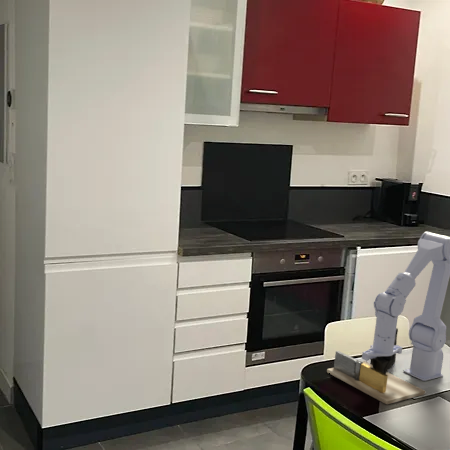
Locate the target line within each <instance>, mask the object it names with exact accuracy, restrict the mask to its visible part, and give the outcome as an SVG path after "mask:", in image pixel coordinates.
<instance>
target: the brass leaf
mask: <svg viewBox="0 0 450 450" xmlns="http://www.w3.org/2000/svg"><path fill="white" fill-rule="evenodd" d="M387 378H388V375H386V374H384V373H382V372H380V371H378V370H376V369H374V368H372V367H370V366H368V365H366V364H361V369H360V377H359V381H361V382H363V383H365V384H367V385H369V386H370V387H372V388H374V389H376V390H378V391H380V392H382V393H384V392H386V385H387Z"/></svg>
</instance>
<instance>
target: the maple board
mask: <svg viewBox="0 0 450 450" xmlns="http://www.w3.org/2000/svg"><path fill="white" fill-rule="evenodd" d="M362 362H363V364H366V365H368V366H370V367H372V368H373V365H371V364H370V362H368V361H366V360H363V361H362ZM326 372H327V374H329V373H330V375H332V377H333V376H334V377H335V378H337V379H339V380H341V381H343V382H345V383H346V384H348V385H350V386H352V387H353V388H356V389H357V390H359V391H361V392H363V393H364V394H366V395H369V396H370V397H372V398H374V399H376V400H377V401H380V402H381V403H383V404H385V405H390V404H394V403H397V402H401V401H404V400H405V401H406V400H407V399H412V398H415V397H419V396H423V395H426V390H424V389H422V388H420V387H418V386H416V385H415V384H413V383H410V382H408V381H406V380H404V379H402V378H401V377H398V376H397V375H396V376H395V375H394V374H392V373H390V372H388V371H387V372H386V375H388V378H387V385H386V392H384V393H382V392H380V391H378V390H376V389H374V388H372V387H370V386H369V385H367V384H365V383H363V382H361V381H357V380H355V379H354V378H352V377H350V376H348V375H346V374H344V373H342V372H340V371H338V370H336V369H334V367H331V368H327V369H326Z"/></svg>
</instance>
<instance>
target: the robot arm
mask: <svg viewBox="0 0 450 450" xmlns="http://www.w3.org/2000/svg"><path fill="white" fill-rule="evenodd" d="M430 262H432V264H433V267H432V270H431V275H430V280H429V283H428V287H427V288H428V289H427V291H426V297H425V299H424V300H425V301H424V304H423V310H422V313H421V314H420V315H418V316H416V317H414V318H413V321H412V324H411V326H410V327H409V330H408V338H409V340H410V341H411V343H410V344H411V346H412V352H411V357H410V358H411V359H410V366H409V368H405V369H404V370H403V372H404V373H405V374H407V375H409V376H412V377H414V378H416V379H419V381H422V382H426V381H430V380H433V379H436V378H443V377H444V374H443V373H442V369H443V367H442V366H443V362H444V352H443V348H444V346H445V344H446V341H447V325H446V324H445V323H444V322H443V320H442V319H441V315H442V312H443V311H442V310H443V307H444V302H445V298H446V294H447V289H448V286H449V280H450V236H448V235H443V234H438V233H434V232H431V231H429V230H427V231H424V232H423V233H422V234H421V235H420V238H419V239H418V241H417V250H416V252H415V254H414V255H413V257H412V259H411V261H410V262H409V264H408V265H407V267H406V269H405V271H404V272H398V274H396V276H395V278H394V279H393V280H392V281H391V283H390V284H389V285H388V287H387V288H386V290H385V291H383V292H380V293H379V294H377V295H376V297H375V300H374V301H373V308H374V311H375V312H374V315H375V317H376V319H375V328H374V335H373V344H370V347H369V348H368V349H367V350H365V351H362V353H361V355H362V356H361V359H362V360H363V361H365V362H368V361H370V362H371V363H372V365H373V368H374V369H376V370H378V371H380V372H382V373H384V374H386V372H388V371H389V369H390V368H391V367H390V365H391V364H392V363H393V362H394V358H393V357H391V356H392V355H393V354H395V353H396V354H398V355H401V354H402V353H403V347H402V346H401V345H398V344H396V345H394V341H395V334H396V328H397V326H398V325H397V324H398V318H399V316H400V315H401V314H402V313H403V311H404V307H405V305H406V302H407V298H408V297H409V295H410V294H411V292H412V291H413V289H414V288H415V287H416V284H417V283H416V278H417V277H419V275H420V274H421V273H422V271H424V269H425V268H426V267H427V266H428V264H430ZM394 363H395V362H394ZM394 363H393V364H394ZM389 367H390V368H389ZM388 368H389V369H388Z"/></svg>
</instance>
